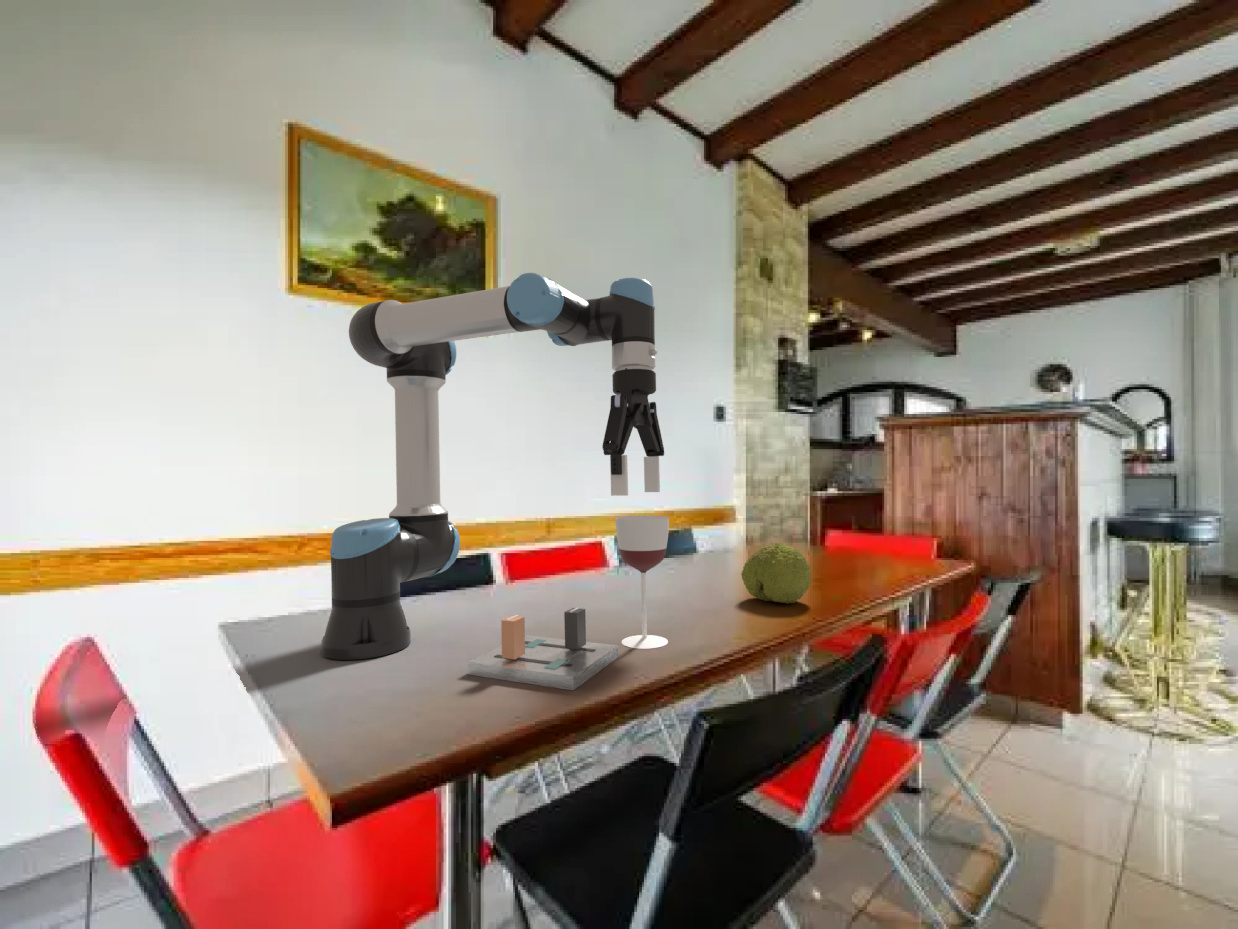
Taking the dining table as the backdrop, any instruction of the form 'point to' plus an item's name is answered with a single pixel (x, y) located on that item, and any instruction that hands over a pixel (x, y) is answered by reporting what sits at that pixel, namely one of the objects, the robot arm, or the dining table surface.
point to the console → (546, 663)
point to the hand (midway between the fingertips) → (636, 493)
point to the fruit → (777, 574)
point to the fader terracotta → (513, 637)
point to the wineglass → (643, 561)
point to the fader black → (575, 628)
